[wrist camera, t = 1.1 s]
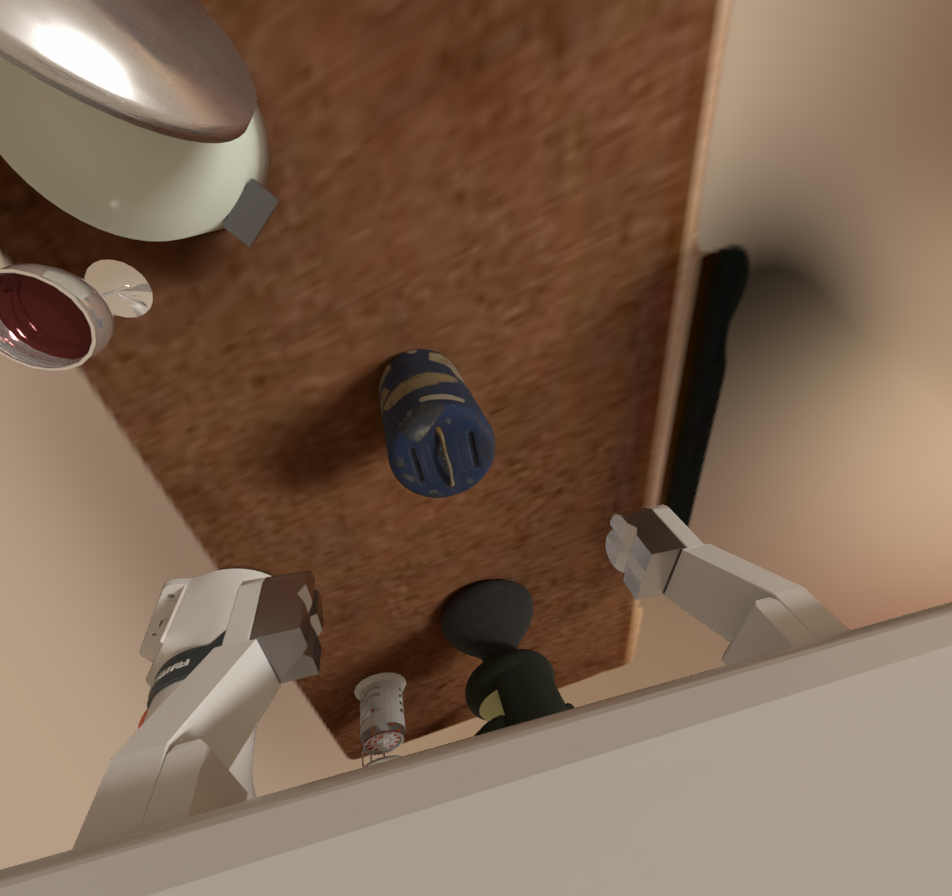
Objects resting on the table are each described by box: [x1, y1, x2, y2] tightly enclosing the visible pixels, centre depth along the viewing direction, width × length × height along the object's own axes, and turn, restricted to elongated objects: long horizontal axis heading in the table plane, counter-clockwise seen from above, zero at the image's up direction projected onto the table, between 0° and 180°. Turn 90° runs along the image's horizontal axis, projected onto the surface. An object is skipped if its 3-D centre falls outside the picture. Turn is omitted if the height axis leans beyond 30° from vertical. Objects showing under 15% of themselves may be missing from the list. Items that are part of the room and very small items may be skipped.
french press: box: [354, 673, 406, 768], centre depth 68 cm, size 10×12×25 cm
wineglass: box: [0, 260, 153, 371], centre depth 32 cm, size 7×7×12 cm
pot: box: [0, 56, 281, 247], centre depth 28 cm, size 14×18×10 cm
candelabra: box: [441, 579, 575, 736], centre depth 54 cm, size 19×22×45 cm
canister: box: [379, 349, 495, 498], centre depth 41 cm, size 10×10×18 cm
